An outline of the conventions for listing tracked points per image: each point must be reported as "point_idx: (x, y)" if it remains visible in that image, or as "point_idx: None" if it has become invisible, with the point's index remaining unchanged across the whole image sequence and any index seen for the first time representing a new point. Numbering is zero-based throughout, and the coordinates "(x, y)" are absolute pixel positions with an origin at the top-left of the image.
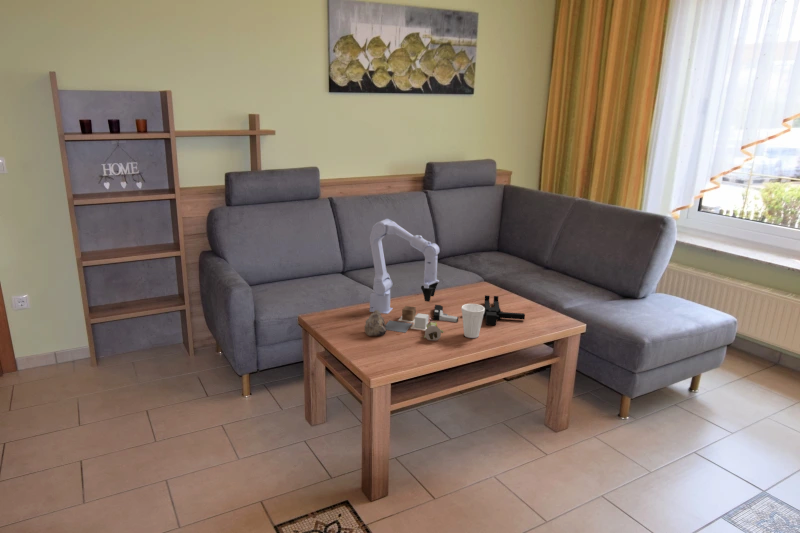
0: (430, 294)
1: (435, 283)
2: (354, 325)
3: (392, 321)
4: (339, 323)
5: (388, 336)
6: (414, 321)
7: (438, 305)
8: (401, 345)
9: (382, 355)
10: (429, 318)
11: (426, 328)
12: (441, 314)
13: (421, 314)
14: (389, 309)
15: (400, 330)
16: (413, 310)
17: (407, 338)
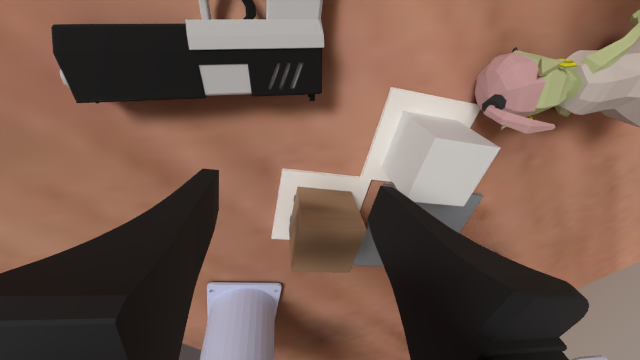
0: (463, 237)
1: (146, 318)
2: (393, 322)
3: (363, 255)
4: (379, 346)
5: (494, 236)
6: (354, 182)
7: (76, 71)
8: (585, 187)
9: (628, 222)
10: (551, 126)
11: (450, 115)
12: (286, 31)
13: (427, 179)
14: (246, 292)
15: (459, 215)
16: (350, 226)
17: (531, 178)
